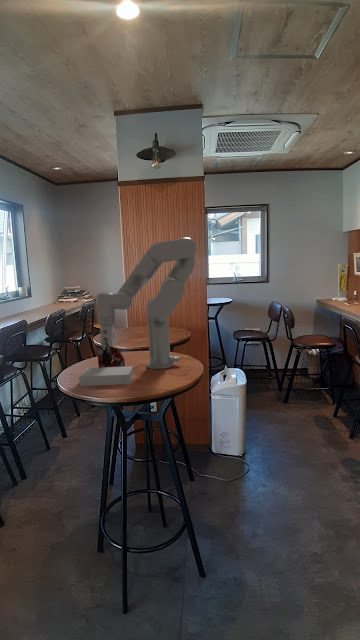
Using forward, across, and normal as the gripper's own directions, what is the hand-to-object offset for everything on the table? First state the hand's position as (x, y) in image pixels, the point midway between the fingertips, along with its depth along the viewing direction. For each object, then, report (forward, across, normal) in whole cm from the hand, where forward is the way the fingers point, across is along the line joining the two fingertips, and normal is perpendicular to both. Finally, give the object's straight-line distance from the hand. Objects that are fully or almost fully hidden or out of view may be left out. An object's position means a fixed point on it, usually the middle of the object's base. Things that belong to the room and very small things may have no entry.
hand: (108, 358), depth 166 cm
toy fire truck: (+6, 0, -1) cm, 6 cm away
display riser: (+6, -14, -2) cm, 15 cm away
